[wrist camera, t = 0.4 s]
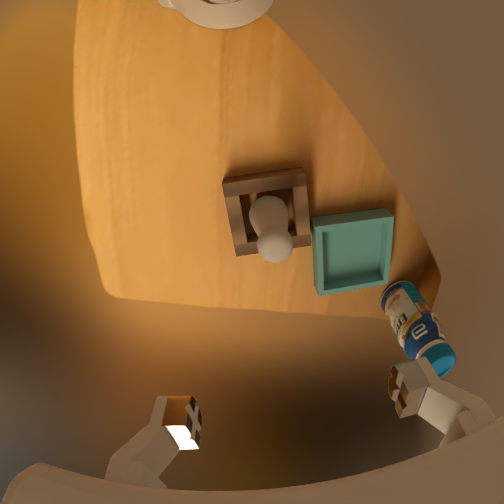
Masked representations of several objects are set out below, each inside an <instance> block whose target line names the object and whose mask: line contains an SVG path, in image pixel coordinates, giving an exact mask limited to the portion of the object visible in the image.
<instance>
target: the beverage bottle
mask: <svg viewBox="0 0 504 504" xmlns="http://www.w3.org/2000/svg"><path fill="white" fill-rule="evenodd" d="M381 307H382V309H383V311H384V313H385V314H386V316H387V318H388V320H389V322H390V324H391V326H392V328H393V330H394V332H395V334H396V336H397V339H398V342H399V343H400V345H401V346H402V347H403V348H404V352H405V354H406V355H407V356H408V357H409V358H410V359H412V360H414V359H417V358H421V357H426V358H427V359H428V361H429V363H430V364H431V366H432V367H433V369H434V370H435V372H436V374H437V375H438V377H439V378H440V377H442V376H444V375H445V374H447V373H448V372H449V371H450V369H452V367H453V366H454V364H455V362H456V355H455V353H454V351H453V350H452V348H451V347H450V345H449V344H448V343H447V342H445V331H444V328H443V326H442V325H441V324H440V323H439V320H438V317H437V316H436V314H435V313H434V312H433V311H432V310H431V308H430V307H429V306H428V304H427V303H426V301H425V300H424V299H423V297H422V296H421V294H420V293H419V292H418V290H417V289H416V287H415V286H414V284H413V283H411V282H409V281H398V282H396V283H394V284H392V285H391V286H389V287H388V288H387V289H386V290H385V292H384V293H383V295H382V298H381Z"/></svg>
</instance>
